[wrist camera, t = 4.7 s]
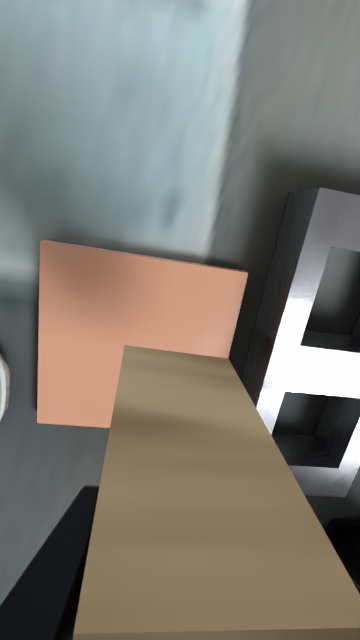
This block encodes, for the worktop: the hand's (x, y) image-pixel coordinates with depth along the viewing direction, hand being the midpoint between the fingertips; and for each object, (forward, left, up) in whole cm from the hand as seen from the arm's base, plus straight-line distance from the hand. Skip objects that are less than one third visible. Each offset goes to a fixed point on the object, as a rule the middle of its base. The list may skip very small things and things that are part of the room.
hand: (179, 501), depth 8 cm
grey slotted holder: (0, -10, -11) cm, 15 cm away
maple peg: (0, 0, -5) cm, 5 cm away
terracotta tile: (-1, +1, -11) cm, 11 cm away
